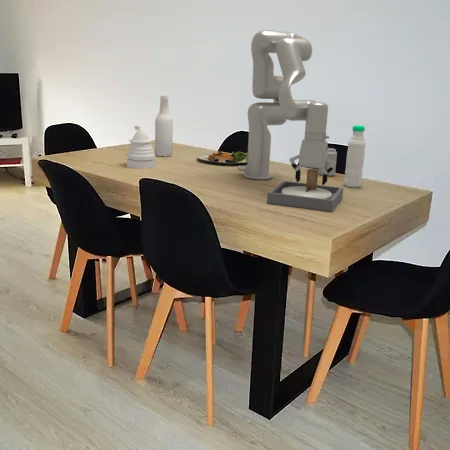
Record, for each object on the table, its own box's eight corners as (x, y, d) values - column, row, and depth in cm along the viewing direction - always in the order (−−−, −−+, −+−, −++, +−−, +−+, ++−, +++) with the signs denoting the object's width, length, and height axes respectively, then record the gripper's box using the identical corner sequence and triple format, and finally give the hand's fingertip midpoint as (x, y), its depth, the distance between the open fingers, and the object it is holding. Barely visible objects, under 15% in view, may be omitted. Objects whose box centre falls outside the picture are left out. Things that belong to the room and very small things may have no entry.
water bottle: (351, 188, 224) (358, 126, 217) (340, 184, 230) (346, 124, 223) (364, 187, 228) (371, 126, 221) (353, 183, 234) (359, 124, 226)
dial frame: (266, 203, 195) (268, 186, 193) (283, 190, 216) (284, 175, 214) (331, 211, 187) (333, 194, 185) (342, 197, 208) (344, 181, 207)
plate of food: (265, 163, 274) (265, 150, 272) (227, 168, 254) (227, 155, 252) (223, 156, 292) (224, 145, 290) (185, 161, 272) (185, 148, 271)
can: (334, 177, 246) (337, 150, 242) (317, 175, 247) (320, 149, 244) (334, 174, 253) (337, 148, 249) (318, 172, 254) (320, 146, 251)
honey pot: (121, 166, 248) (120, 126, 242) (136, 162, 259) (136, 123, 254) (146, 169, 243) (146, 128, 238) (160, 165, 255) (160, 126, 249)
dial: (324, 204, 189) (326, 180, 187) (274, 197, 196) (276, 174, 194) (336, 194, 205) (338, 171, 203) (289, 188, 212) (291, 166, 210)
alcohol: (171, 157, 276) (172, 96, 268) (153, 156, 276) (154, 95, 268) (173, 154, 285) (174, 95, 276) (156, 153, 285) (156, 94, 276)
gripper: (340, 137, 201) (335, 183, 206) (294, 133, 207) (290, 178, 212) (337, 140, 195) (332, 187, 199) (289, 136, 200) (285, 182, 205)
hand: (310, 182), depth 206 cm, fingers open, 9 cm apart
